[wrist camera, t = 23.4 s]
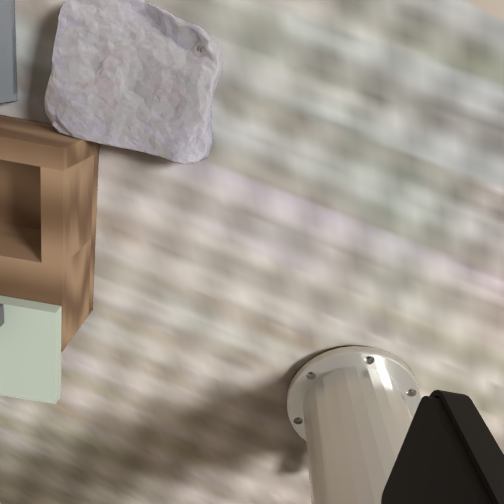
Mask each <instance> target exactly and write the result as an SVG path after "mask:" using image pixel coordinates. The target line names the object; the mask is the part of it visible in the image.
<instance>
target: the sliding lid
mask: <svg viewBox="0 0 504 504" xmlns="http://www.w3.org/2000/svg"><path fill="white" fill-rule="evenodd" d="M61 324H62V306H59V305H53V304H47V303H41V302H35V301H30V300H24V299H18V298H12V297H6V296H1V295H0V395H4V396H10V397H16V398H22V399H28V400H34V401H40V402H46V403H52V404H56V402H57V401H58V399H59V398H60V396H61Z"/></svg>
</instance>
